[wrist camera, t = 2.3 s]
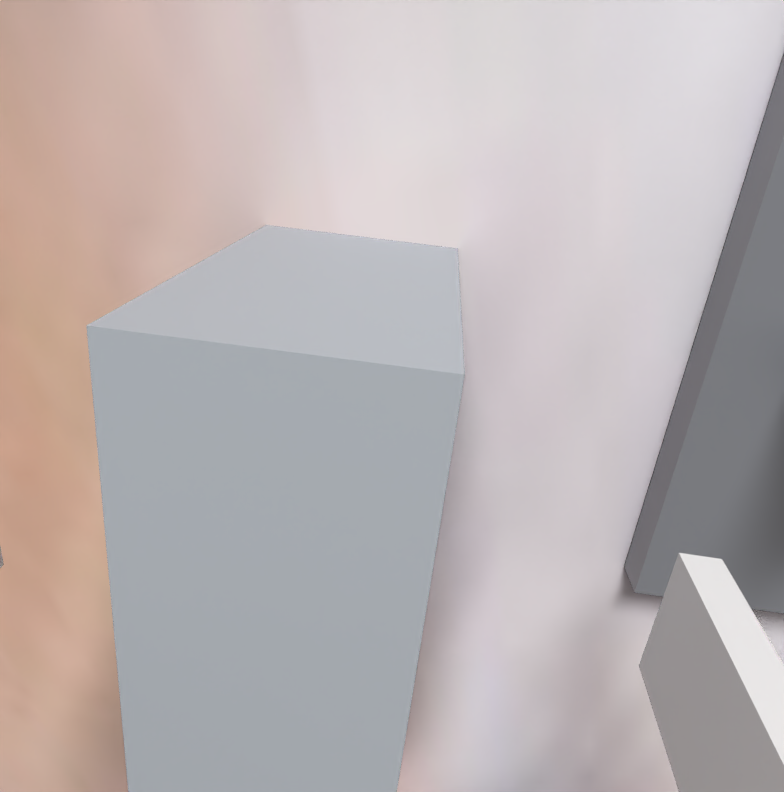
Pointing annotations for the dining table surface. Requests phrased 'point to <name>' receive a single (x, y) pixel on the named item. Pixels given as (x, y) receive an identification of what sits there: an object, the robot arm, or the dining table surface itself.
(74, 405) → the dining table surface
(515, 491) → the dining table surface
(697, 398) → the grey peg board
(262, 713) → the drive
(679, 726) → the robot arm
